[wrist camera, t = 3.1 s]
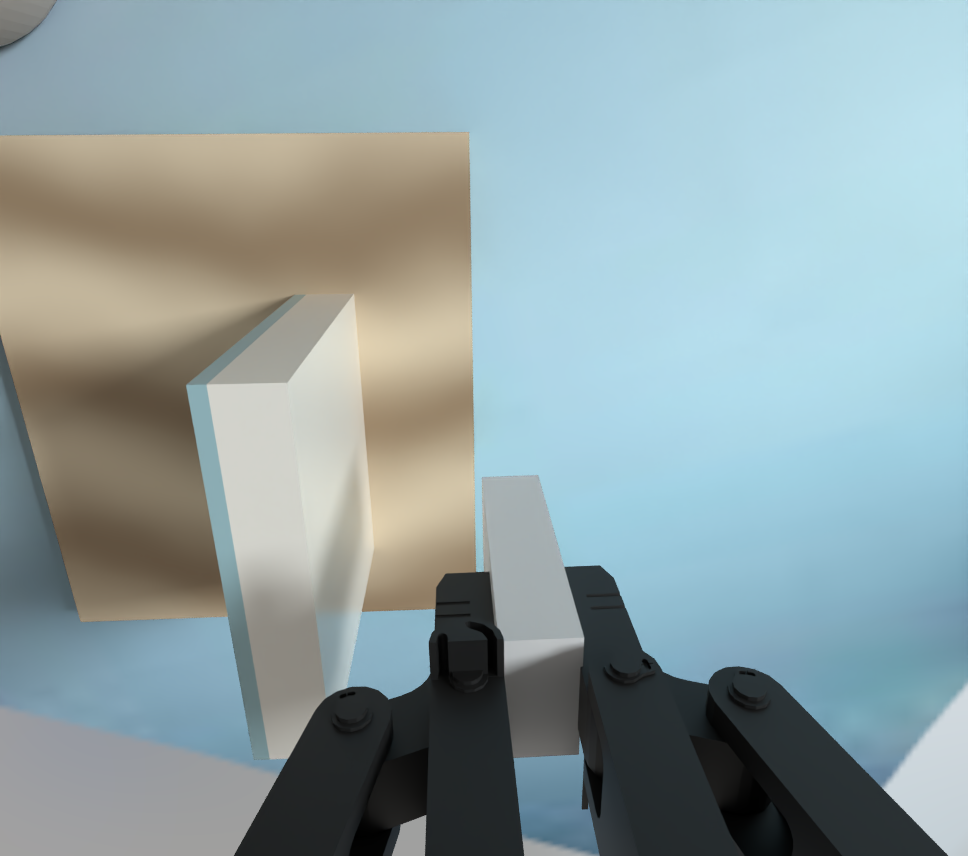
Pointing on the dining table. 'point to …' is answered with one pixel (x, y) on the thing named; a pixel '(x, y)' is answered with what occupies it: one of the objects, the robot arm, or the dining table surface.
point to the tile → (288, 508)
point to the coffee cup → (21, 17)
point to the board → (232, 338)
